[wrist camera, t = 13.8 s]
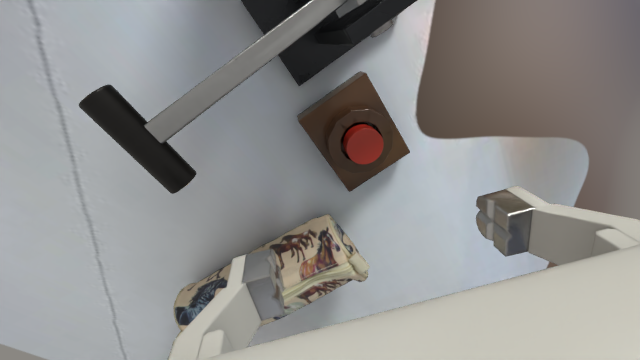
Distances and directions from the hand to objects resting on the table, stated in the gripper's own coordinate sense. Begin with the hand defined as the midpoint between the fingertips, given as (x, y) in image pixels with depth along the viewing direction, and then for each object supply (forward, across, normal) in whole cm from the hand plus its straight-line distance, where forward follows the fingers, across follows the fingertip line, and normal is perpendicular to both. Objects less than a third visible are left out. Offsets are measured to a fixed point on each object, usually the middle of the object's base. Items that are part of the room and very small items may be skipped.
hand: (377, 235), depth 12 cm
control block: (+23, -4, +3) cm, 23 cm away
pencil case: (+23, +9, +17) cm, 30 cm away
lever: (+9, +3, -7) cm, 12 cm away
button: (+19, -4, +3) cm, 20 cm away
